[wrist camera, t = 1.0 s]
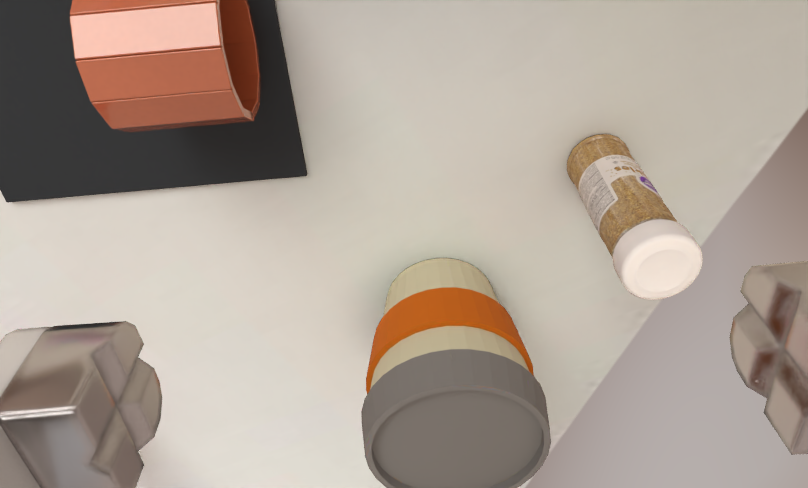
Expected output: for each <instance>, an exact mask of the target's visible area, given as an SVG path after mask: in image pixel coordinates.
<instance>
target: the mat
mask: <svg viewBox="0 0 808 488" xmlns="http://www.w3.org/2000/svg"><path fill="white" fill-rule="evenodd" d="M248 3H249V6H250V11H251V15H252V20H253V25H254V30H255V34H256V39H257V41H256V42H257V46H258V56H259V66H260V78H261V83H260V105H259V109H258V111H257V114H256V116H255V119H254V120H253V121H249V122H238V123H227V124H216V125H204V126H193V127H182V128H171V129H160V130H149V131H138V132H126V131H121V130H116V129H112V128H111V127H110V126H109V125H108V124H107V122H106V121H105V120H104V119H103V117H102V116H101V115H100V113H99V112H98V111H97V110H96V108H95V107H94V106H93V105H92V102H91V101H90V99H89V96H88V94H87V91H86V88H85V86H84V83H83V80H82V78H81V75H80V72H79V70H78V67H77V64H76V60H75V56H74V48H73V40H72V32H71V24H70V16H71V15H70V9H71V5H72V0H0V190H1V192H2V194H3V196H4V198H5V200H6V202H16V201H28V200H39V199H50V198H62V197H73V196H84V195H96V194H107V193H118V192H130V191H141V190H152V189H164V188H175V187H186V186H198V185H209V184H220V183H232V182H243V181H254V180H266V179H277V178H288V177H300V176H307V170H306V165H305V160H304V154H303V149H302V144H301V138H300V133H299V128H298V123H297V117H296V112H295V107H294V101H293V96H292V91H291V86H290V80H289V75H288V70H287V64H286V59H285V54H284V49H283V43H282V38H281V33H280V28H279V22H278V17H277V12H276V6H275V1H274V0H248Z"/></svg>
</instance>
